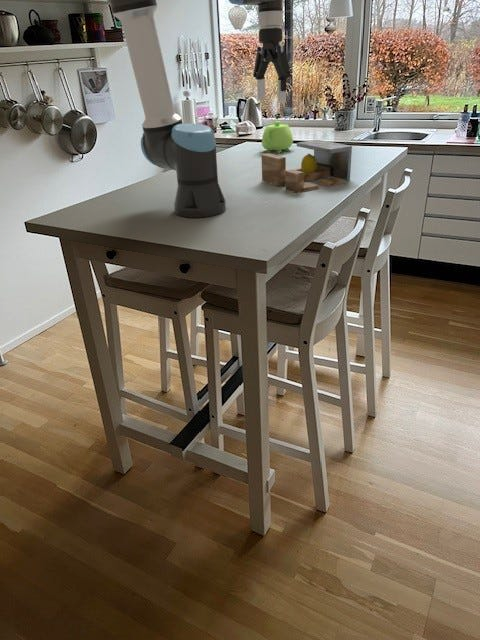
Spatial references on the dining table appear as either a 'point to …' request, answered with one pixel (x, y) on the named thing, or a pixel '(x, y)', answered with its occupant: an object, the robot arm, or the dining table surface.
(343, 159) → the shelf
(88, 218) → the dining table surface
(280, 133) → the green round lobed piece
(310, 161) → the lemon
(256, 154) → the dining table surface
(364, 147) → the dining table surface
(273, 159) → the wooden frame
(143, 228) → the dining table surface
